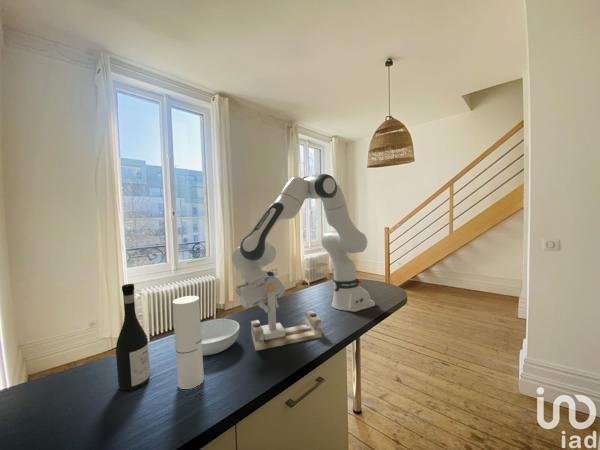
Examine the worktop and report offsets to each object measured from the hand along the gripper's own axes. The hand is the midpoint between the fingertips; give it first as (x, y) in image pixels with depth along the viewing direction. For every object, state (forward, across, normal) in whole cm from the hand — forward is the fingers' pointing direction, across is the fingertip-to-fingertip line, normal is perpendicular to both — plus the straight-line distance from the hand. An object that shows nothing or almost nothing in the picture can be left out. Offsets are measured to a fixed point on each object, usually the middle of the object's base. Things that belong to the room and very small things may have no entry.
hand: (272, 309), depth 100 cm
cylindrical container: (+8, -32, +10) cm, 35 cm away
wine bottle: (-1, -43, +19) cm, 47 cm away
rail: (+10, +5, +7) cm, 13 cm away
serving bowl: (-2, -18, +20) cm, 27 cm away
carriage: (+6, 0, +7) cm, 10 cm away
